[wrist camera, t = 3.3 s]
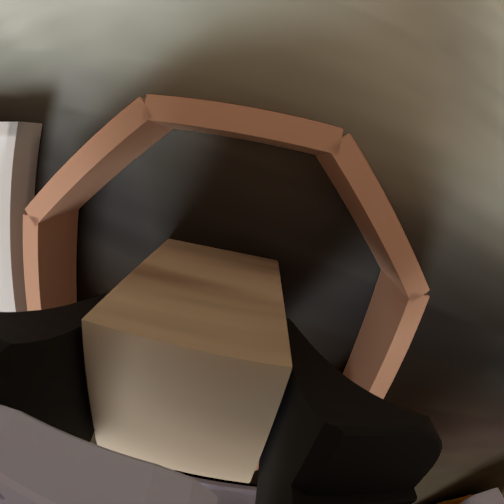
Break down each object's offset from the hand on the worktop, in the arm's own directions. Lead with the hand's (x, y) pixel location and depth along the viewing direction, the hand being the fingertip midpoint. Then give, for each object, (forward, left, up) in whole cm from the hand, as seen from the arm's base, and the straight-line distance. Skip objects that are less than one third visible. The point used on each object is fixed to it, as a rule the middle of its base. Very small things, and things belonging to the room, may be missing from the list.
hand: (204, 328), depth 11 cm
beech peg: (0, 0, -2) cm, 2 cm away
